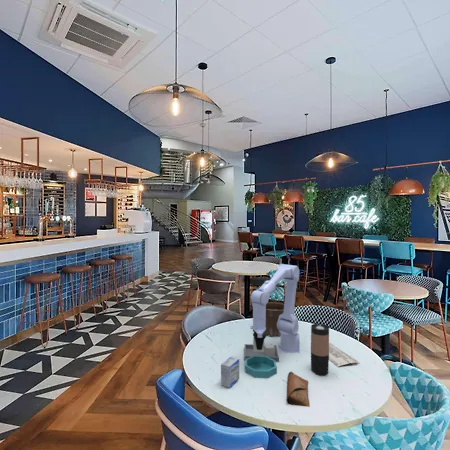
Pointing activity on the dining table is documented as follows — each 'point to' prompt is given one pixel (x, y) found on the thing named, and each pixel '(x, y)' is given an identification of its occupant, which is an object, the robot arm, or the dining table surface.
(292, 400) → the sunglasses case
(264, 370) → the bowl
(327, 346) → the travel mug
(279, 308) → the plant pot
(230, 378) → the medicine box
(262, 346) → the white rectangular block
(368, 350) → the dining table surface
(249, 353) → the parts tray
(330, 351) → the newspaper
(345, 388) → the dining table surface
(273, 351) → the light gray cube block
